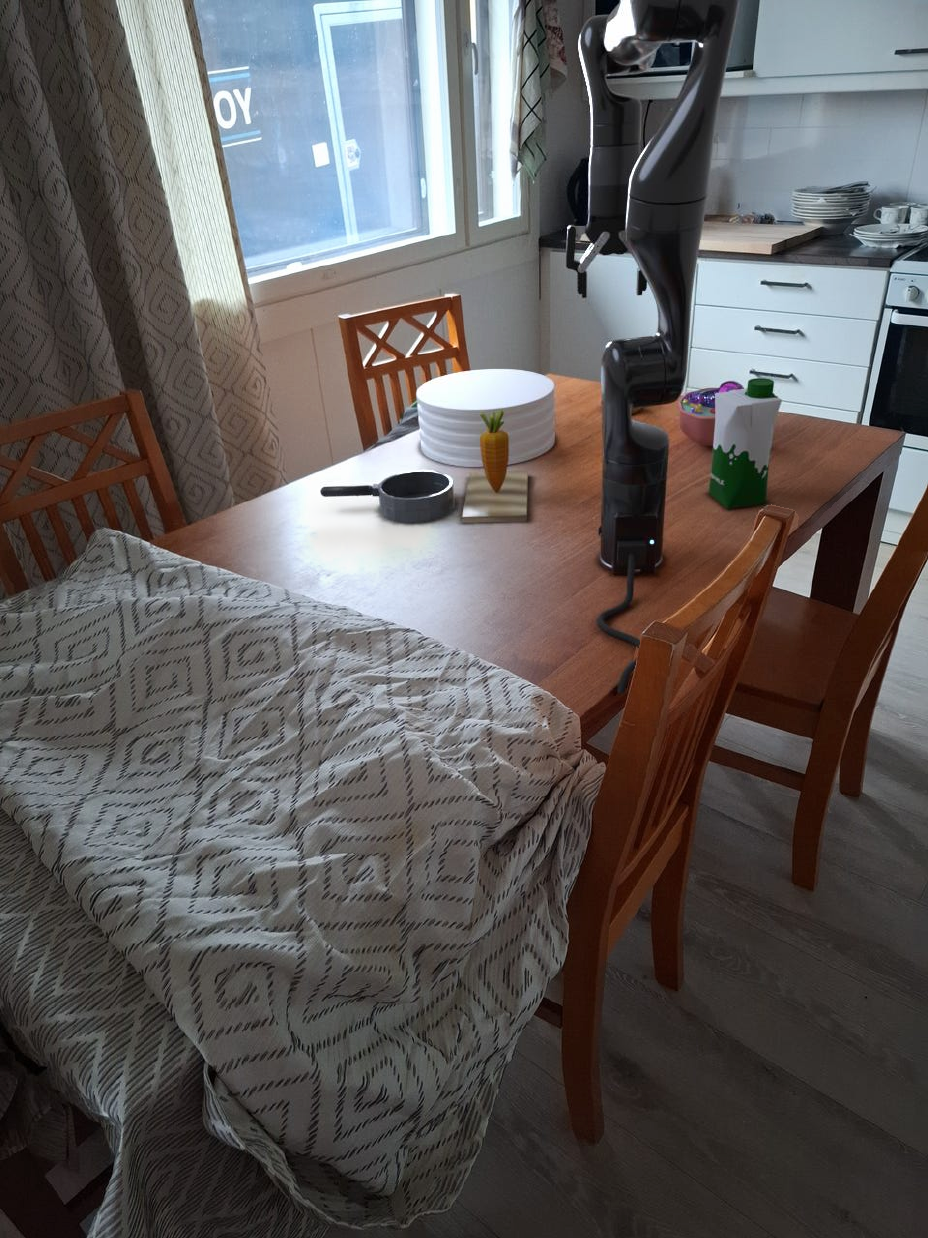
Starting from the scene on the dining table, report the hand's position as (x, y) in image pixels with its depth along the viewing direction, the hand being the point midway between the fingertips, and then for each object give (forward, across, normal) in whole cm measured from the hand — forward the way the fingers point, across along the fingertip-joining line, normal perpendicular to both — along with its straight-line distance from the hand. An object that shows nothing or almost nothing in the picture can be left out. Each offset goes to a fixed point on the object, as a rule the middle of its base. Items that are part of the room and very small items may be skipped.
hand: (611, 295), depth 134 cm
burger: (+34, +7, +49) cm, 60 cm away
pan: (+34, -34, -2) cm, 48 cm away
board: (+34, -20, +1) cm, 39 cm away
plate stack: (+34, -22, +30) cm, 51 cm away
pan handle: (+31, -45, -2) cm, 55 cm away
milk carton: (+34, +22, -2) cm, 41 cm away
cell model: (+34, +24, +26) cm, 49 cm away
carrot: (+33, -19, +1) cm, 38 cm away
